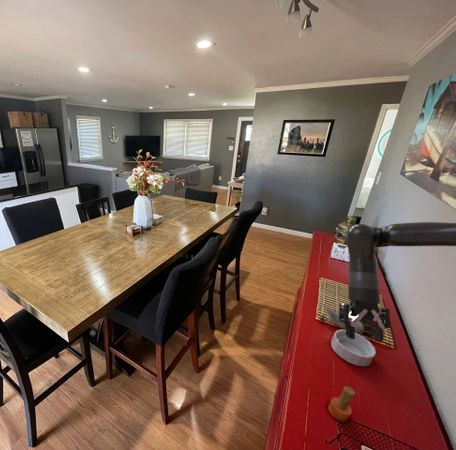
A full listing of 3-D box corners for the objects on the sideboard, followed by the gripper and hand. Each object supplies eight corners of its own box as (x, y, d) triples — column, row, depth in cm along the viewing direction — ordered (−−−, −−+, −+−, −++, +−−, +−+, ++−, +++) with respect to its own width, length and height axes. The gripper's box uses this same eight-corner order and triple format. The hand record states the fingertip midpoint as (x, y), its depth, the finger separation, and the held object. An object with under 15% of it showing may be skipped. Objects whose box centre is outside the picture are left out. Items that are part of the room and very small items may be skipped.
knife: (362, 304, 126) (363, 302, 126) (378, 310, 122) (379, 308, 121) (354, 330, 109) (356, 327, 109) (373, 338, 105) (374, 336, 105)
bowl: (378, 363, 94) (384, 353, 92) (352, 370, 91) (358, 360, 89) (346, 336, 106) (351, 327, 104) (323, 342, 103) (326, 332, 101)
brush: (352, 419, 76) (364, 397, 71) (339, 423, 74) (351, 401, 70) (336, 402, 80) (348, 380, 76) (324, 406, 79) (335, 384, 75)
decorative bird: (362, 338, 105) (368, 325, 102) (319, 323, 113) (324, 310, 110) (360, 330, 109) (366, 318, 107) (319, 316, 117) (324, 304, 114)
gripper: (350, 285, 73) (351, 341, 70) (397, 290, 73) (399, 346, 70) (332, 283, 80) (332, 333, 78) (374, 287, 80) (376, 338, 78)
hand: (364, 340), depth 74 cm, fingers open, 8 cm apart
